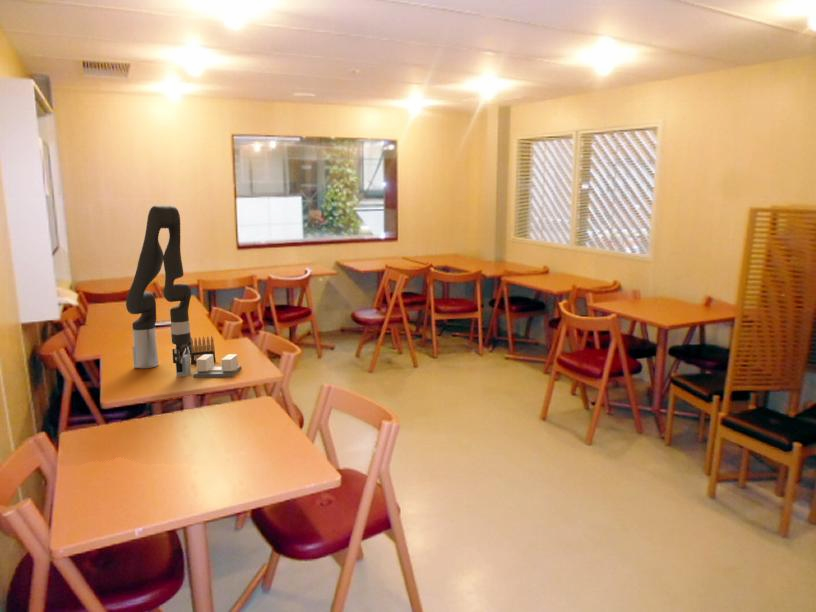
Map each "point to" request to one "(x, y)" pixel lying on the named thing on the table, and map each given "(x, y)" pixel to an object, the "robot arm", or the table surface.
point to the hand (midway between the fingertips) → (183, 369)
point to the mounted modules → (208, 362)
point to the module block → (185, 366)
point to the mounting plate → (216, 372)
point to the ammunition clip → (200, 347)
